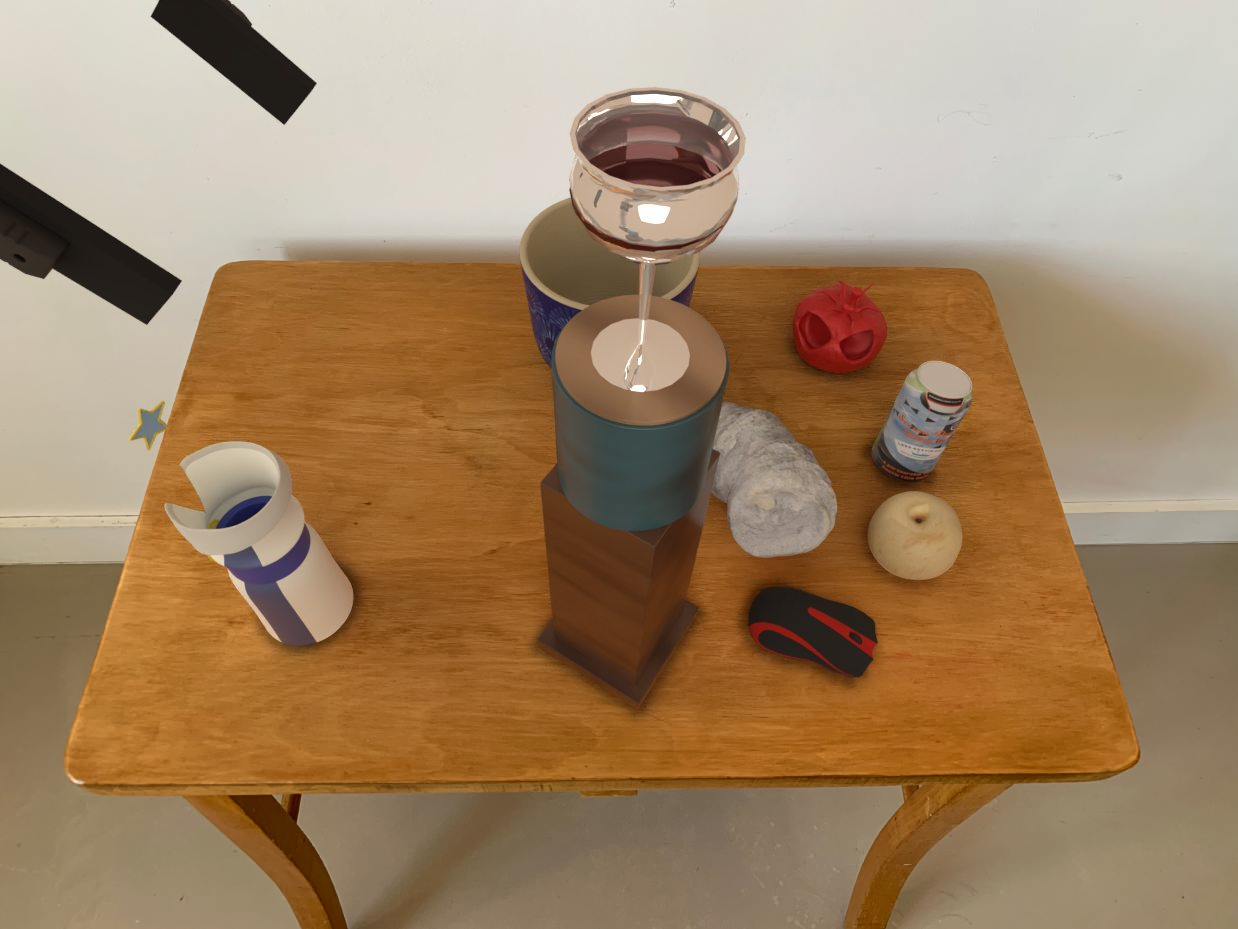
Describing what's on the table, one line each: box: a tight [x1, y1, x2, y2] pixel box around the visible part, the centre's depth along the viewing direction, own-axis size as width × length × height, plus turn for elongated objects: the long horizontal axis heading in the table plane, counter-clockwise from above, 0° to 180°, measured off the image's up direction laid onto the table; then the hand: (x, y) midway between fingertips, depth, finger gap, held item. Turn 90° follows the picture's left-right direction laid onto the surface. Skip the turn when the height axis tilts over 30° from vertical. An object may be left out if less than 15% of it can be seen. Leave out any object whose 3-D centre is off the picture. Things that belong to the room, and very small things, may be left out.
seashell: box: [711, 401, 838, 559], centre depth 73 cm, size 16×15×10 cm
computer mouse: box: [747, 586, 879, 679], centre depth 67 cm, size 6×11×4 cm, turn 67°
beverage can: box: [871, 360, 973, 483], centre depth 75 cm, size 6×7×12 cm
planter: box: [518, 197, 701, 370], centre depth 80 cm, size 17×17×15 cm
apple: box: [866, 490, 964, 581], centre depth 71 cm, size 8×8×8 cm
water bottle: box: [127, 400, 354, 647], centre depth 58 cm, size 8×9×25 cm
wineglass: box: [568, 86, 747, 392], centre depth 35 cm, size 7×7×12 cm
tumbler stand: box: [536, 295, 730, 711], centre depth 54 cm, size 10×10×35 cm
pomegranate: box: [791, 276, 888, 374], centre depth 84 cm, size 10×10×9 cm
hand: (241, 193), depth 34 cm, fingers open, 13 cm apart
